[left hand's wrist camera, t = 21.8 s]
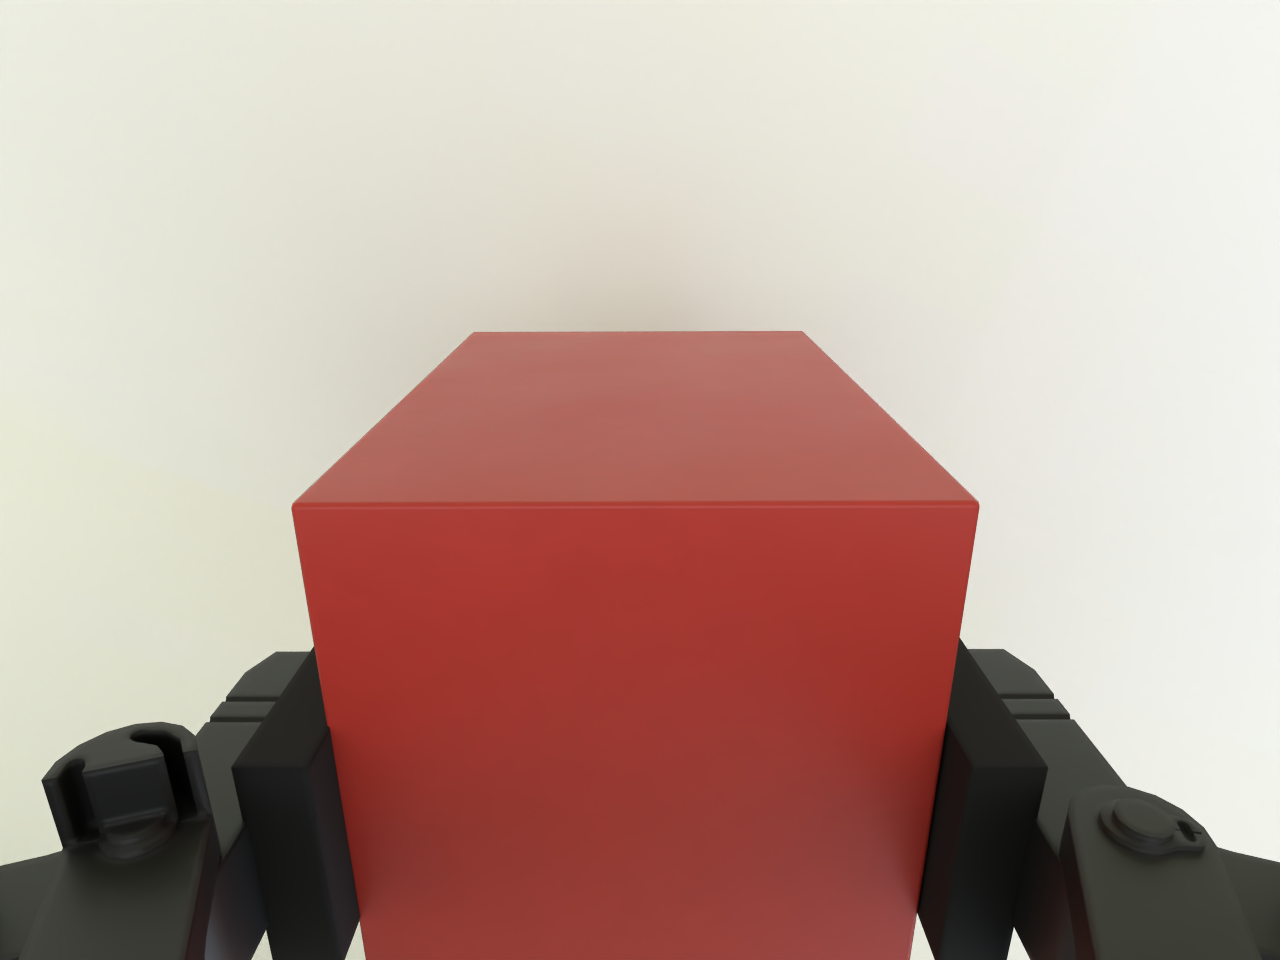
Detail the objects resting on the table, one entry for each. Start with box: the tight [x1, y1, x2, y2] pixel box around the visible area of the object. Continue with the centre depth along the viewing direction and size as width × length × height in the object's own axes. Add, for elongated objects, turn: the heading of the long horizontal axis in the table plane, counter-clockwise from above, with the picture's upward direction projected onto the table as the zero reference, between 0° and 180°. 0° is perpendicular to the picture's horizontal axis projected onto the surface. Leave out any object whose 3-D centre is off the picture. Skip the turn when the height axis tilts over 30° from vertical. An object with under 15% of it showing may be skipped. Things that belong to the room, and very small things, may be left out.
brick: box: [292, 331, 979, 960], centre depth 13 cm, size 8×7×9 cm
